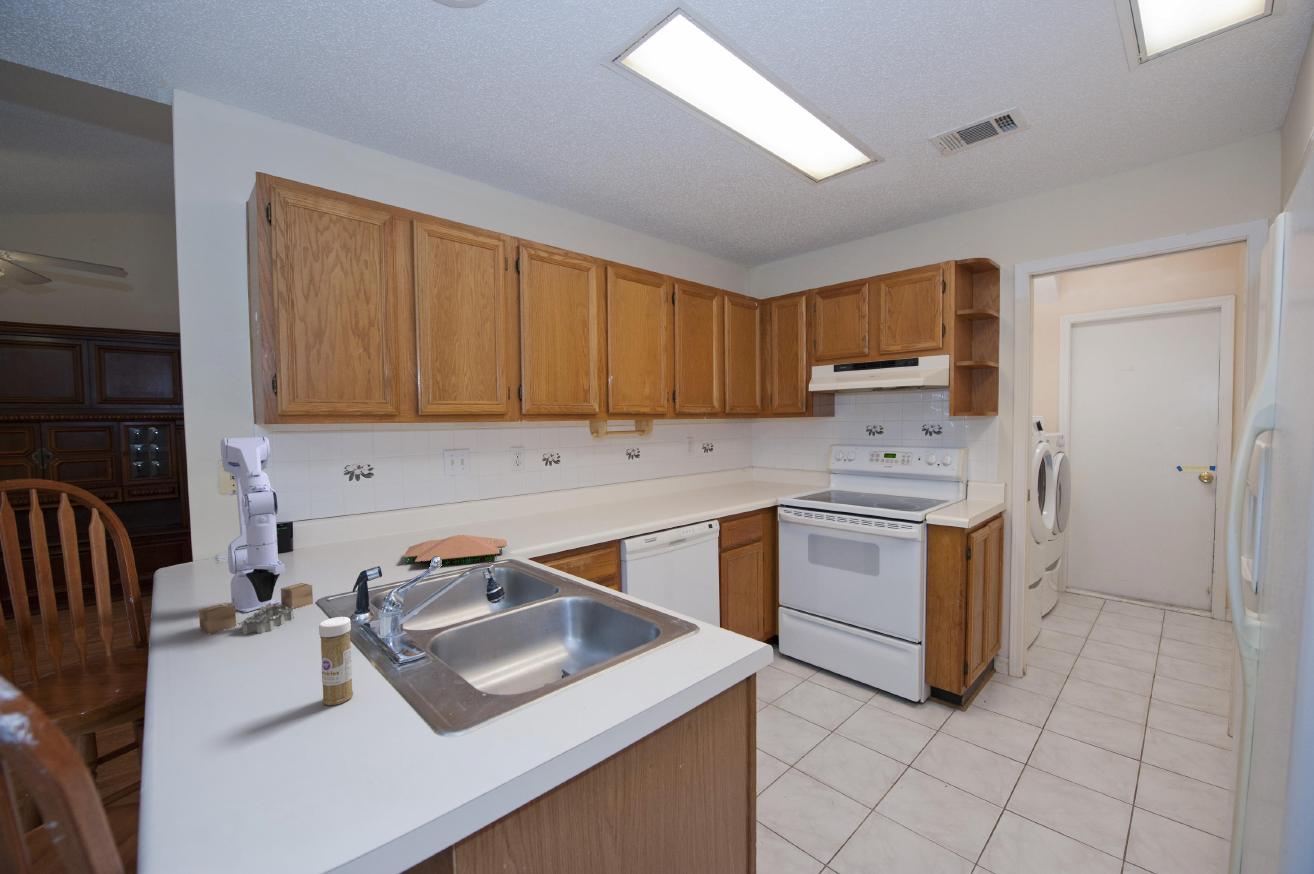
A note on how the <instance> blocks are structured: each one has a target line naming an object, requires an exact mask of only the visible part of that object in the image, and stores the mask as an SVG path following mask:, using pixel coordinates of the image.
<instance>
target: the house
mask: <svg viewBox="0 0 1314 874" xmlns="http://www.w3.org/2000/svg"><path fill="white" fill-rule="evenodd" d="M506 547H508V542H507V539H502V538H492V537H484V536H476V535H467V534H460V535H459V534H458V535H452V536H450V537H449V536H448V537H446V538H443V539H441V538H440V539H433V540H432V539H431V540H427V541H423V542H421V543H418V544H414V545H412V546H409V547H408V548H407V550H406V551H405V553H404V555H403V556H402V558H405V563H407V561H409V562H410V561H411V562H412V559H411V558H412V557H413V558H414V563H417V562H418V563H421V561H422V562H425V561H426V562H430V560H431V559H432V558H433V557H434V556H440V557H442V559H441V560H447V562H446V564H448V563H449V561H448V559H449V560H451V559H454V560H455V561H454V562H456V563H457V562H458V563H459V560H456V559H461V558H462V559H463V560H462V562H463V563H464V562H465V560H464V558H466V562H468V564H469V563H470V564H471V563H472V562H473V560H471V558H472V557H476V558H477V559H476V561H478V560H479V557H481V556H486V555H487V556H491V555H495V559H498V555H500V554H501V553H502V552H503V550H502V548H503V549H504V548H506ZM500 552H501V553H500ZM502 554H503V553H502ZM496 556H497V557H496ZM410 557H411V558H410ZM470 557H471V558H470ZM409 558H410V559H409ZM408 559H409V560H408ZM486 560H489V561H491V560H492V557H486ZM431 561H432V560H431ZM409 562H408V563H409ZM491 562H492V561H491ZM408 563H407V564H408ZM442 568H443V565H442Z"/></svg>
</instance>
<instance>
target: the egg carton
mask: <svg viewBox="0 0 1314 874" xmlns="http://www.w3.org/2000/svg"><path fill="white" fill-rule="evenodd" d="M293 608H296V607H292V606H291V608H288V607H287V606H286V607H285V608H283V609H281V607H280V605H278V604H273V605H271V604H270V603H269V604H268V605H267V604H266V605H265V606H263V607H261V608H260V609H258V611H257V612H254V613H253V614H252V615H251V616H249V617H246V618H245V619H244V620H242V621H241V622H238V623H237V625H239V626H241V628H242V630H241V633H242V635H248V634H250V633H257V634H258V633H262V634H264V632H265V633H268V631H269V632H273V631H274V630H275V626H276V627H280V625H282V626H283V624H284V625H285V622H287V620H288V621H293V620H294V619H295V612H294V610H293ZM292 619H293V620H292ZM284 621H285V622H284ZM273 629H274V630H273ZM272 630H273V631H272ZM247 633H248V634H247Z"/></svg>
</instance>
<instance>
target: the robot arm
mask: <svg viewBox="0 0 1314 874" xmlns="http://www.w3.org/2000/svg"><path fill="white" fill-rule="evenodd" d="M270 449H271V448H270V441H269V438H268V437H267V436H264V435H263V436H257V437H255V436H254V437H253V436H252V437H251V436H250V437H231V438H230V437H228V438H227V437H222V439H220V455H221V462H222V463H221V464H222V468H223V471H224V472H227V473H229V474H232V476H233V479H234V480H235V488H236V497H237V498H236V499H237V511H238V520H239V534H240V535H238V537H236V538H235V539H234V540H232V541H231V542H230V543H229V544H228V547H227V564H228V571H229V573H230V574H232V575H233V576H232V578H231V581H230V597H231V598H230V599H231V605H234V606H235V611H240V612H242V613H249V612H252V611H257V610H260V608H261V607H263V606H265V605H266V604H267V605H268V604H269V603H270V604H271V605H278V604H279V603H281V602H280V601H281V600H278V599H273V595H274V591H275V587H276V583H277V581H278V578H279V576H280V575H281V574H284V573H286V567H285V566H286V565H285V563H282V561H281V560H280V559H279V554H278V553H279V551H278V549H279V548H278V531H277V516H276V515H278V512H279V498H278V497H279V496H278V494H277V492H276V490H275V488H272V484H271V481H270V478H269V475H268V474H267V473H266V472H264V471H263V470H265V469H267V465H268V463H269V458H270V456H271V455H270V454H271V453H270V452H271V450H270Z"/></svg>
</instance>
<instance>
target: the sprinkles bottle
mask: <svg viewBox="0 0 1314 874" xmlns="http://www.w3.org/2000/svg"><path fill="white" fill-rule="evenodd" d="M351 629H352V628H351V619H350V617H348V616H337V617H332V618H328V619H326V620H323V621H322V622H320V623H319V625H318V635H319V638H320V648H321V649H320V650H321V651H320V654H321V683H322V703H323V705H326V706H334V705H335V706H336V705H341V704H343V703H345V702H347V701H348V700H350V699H351V698H352V697H353V696H354V690H353V666H352V664H353V663H352V662H353V661H352V646H351Z"/></svg>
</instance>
